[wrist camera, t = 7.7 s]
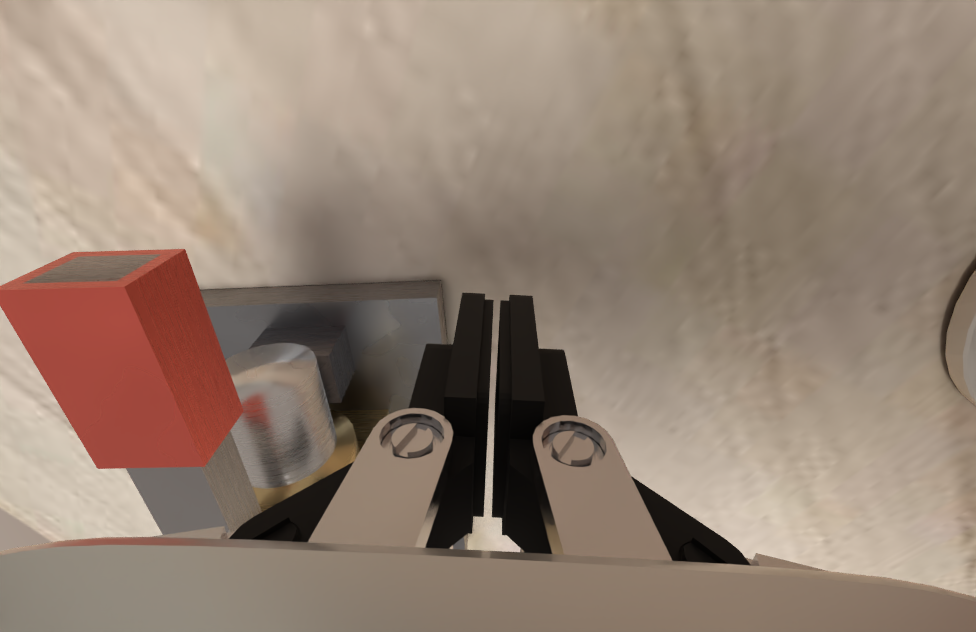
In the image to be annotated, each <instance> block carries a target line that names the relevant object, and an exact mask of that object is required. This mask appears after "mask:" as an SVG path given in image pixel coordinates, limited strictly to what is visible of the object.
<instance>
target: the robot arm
mask: <svg viewBox="0 0 976 632" xmlns="http://www.w3.org/2000/svg"><path fill="white" fill-rule="evenodd" d="M492 322H493V300H485V294H478V293H462V298H461V304H460V309H459V315H458V320H457V326H456V332H455V337H454V343H453V345H451V344H430V343H427V344H426V346H425V350H424V353H423V357H422V361H421V364H420V368H419V371H418V375H417V379H416V382H415V386H414V390H413V393H412V397H411V401H410V404H409V408H408V409H403V410H399V411H396V412H394V413H391V414H389V415H387V416H386V417H384V418H383V419H381V420H380V421H379V422H378V423H377V425H376V426H375V427H374V428H373V430H372V431H371V433H370V435H369V437H368V438H367V440H366V442H365V444H364V445H363V447H362V449H361V451H360V452H359V454H358V456H357V457H356V459H355V461H354V462H352V463H350V464H348V465H347V466H345V467H343V468H341V469H339V470H337V471H336V472H334V473H332V474H330V475H328V476H327V477H325V478H323V479H321V480H319V481H317V482H316V483H314V484H312V485H310V486H308V487H307V488H305V489H303V490H301V491H299V492H297V493H296V494H294V495H292V496H290V497H288V498H286V499H285V500H283V501H281V502H279V503H277V504H276V505H274V506H272V507H270V508H268V509H266V510H265V511H263V512H261V513H259V514H257V515H256V516H254V517H253V518H251V519H250V520H248V521H247V522H245V523H244V524H242V525H241V526H240V527H239V528H238V529H237V530H236V531H235V532H230V533H226V530H225V527H224V526H221V527H215V528H208V529H201V530H194V531H188V532H181V533H174V534H167V535H160V536H154V537H105V538H92V539H78V540H65V541H57V542H51V543H44V544H38V545H31V546H25V547H18V548H12V549H9V550H4V551H0V632H976V597H973V596H969V595H965V594H961V593H957V592H954V591H950V590H946V589H942V588H938V587H934V586H930V585H925V584H919V583H913V582H908V581H902V580H896V579H891V578H885V577H876V576H866V575H856V574H847V573H839V572H830V571H826V570H822V569H818V568H814V567H810V566H806V565H801V564H797V563H793V562H789V561H785V560H781V559H777V558H773V557H769V556H765V555H761V554H757V553H756V555H755V557H754V559H753V560H752V559H748V558H745V557H744V556H743V554H742V553H741V552H740V551H739V550H738V549H737V548H736V547H734V546H733V545H732V544H731V543H729V542H728V541H727V540H726V539H724V538H723V537H721V536H720V535H718V534H717V533H715V532H714V531H712V530H711V529H709V528H708V527H706V526H705V525H703V524H702V523H700V522H699V521H697V520H696V519H694V518H693V517H691V516H690V515H688V514H687V513H685V512H684V511H682V510H681V509H679V508H678V507H676V506H675V505H673V504H672V503H670V502H669V501H667V500H666V499H664V498H663V497H661V496H660V495H658V494H657V493H655V492H654V491H652V490H651V489H649V488H648V487H646V486H645V485H643V484H642V483H640V482H639V481H637V480H636V479H634V478H633V477H631V475H630V473H629V471H628V469H627V467H626V465H625V463H624V461H623V459H622V457H621V455H620V453H619V451H618V449H617V447H616V445H615V443H614V441H613V439H612V438H611V436H610V435H609V434H608V432H607V431H606V430H605V429H603V428H602V427H601V426H600V425H598V424H596V423H594V422H592V421H590V420H588V419H585V418H581V417H578V414H577V409H576V404H575V400H574V395H573V390H572V385H571V380H570V375H569V370H568V366H567V361H566V356H565V352H564V350H557V349H539V347H538V339H537V331H536V322H535V314H534V305H533V297H532V296H521V295H510V297H509V301H501V303H500V321H499V339H498V357H497V375H496V394H495V425H494V462H493V500H492V517H498V518H502V535H507V536H508V537H509V538H510V539H511V540H513V541H514V542H515V543H516V544H517V545H518V546H519V547H520V548H521V550H520V552H501V551H481V550H461V549H453V545H454V544H455V543H456V542H458V541H459V540H460V539H462V538H463V537H464V536H465V535H467V534H468V533H472V526H473V516H478V517H483V516H484V495H485V474H486V452H487V431H488V410H489V388H490V366H491V344H492ZM945 356H946V361H947V365H948V370H949V375H950V377H951V379H952V380H953V382H954V384H955V385H956V387H957V389H958V390H959V392H960V393H961V394H962V395H963V396H965V397H966V398H967V399H968V400H969V401H970V402H972V403H973V404H974V405H975V406H976V270H975V271H974V272H973V274H972V275H971V277H970V278H969V280H968V282H967V284H966V286H965V288H964V290H963V292H962V293H961V295H960V297H959V299H958V301H957V303H956V305H955V308H954V311H953V314H952V318H951V321H950V324H949V327H948V330H947V339H946V352H945Z"/></svg>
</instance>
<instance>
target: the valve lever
mask: <svg viewBox="0 0 976 632" xmlns="http://www.w3.org/2000/svg"><path fill="white" fill-rule="evenodd" d="M0 306H1V308H2V310H3V311H4V313H5V315H6V316H7V318H8V320H9V321H10V323H11V325H12V326H13V328H14V330H15V331H16V333H17V335H18V336H19V338H20V340H21V341H22V343H23V345H24V346H25V348H26V350H27V351H28V353H29V355H30V356H31V358H32V360H33V361H34V363H35V365H36V366H37V368H38V370H39V371H40V373H41V375H42V376H43V378H44V380H45V381H46V383H47V385H48V386H49V388H50V390H51V391H52V393H53V395H54V396H55V398H56V400H57V401H58V403H59V405H60V406H61V408H62V410H63V412H64V413H65V415H66V417H67V418H68V420H69V422H70V423H71V425H72V427H73V428H74V430H75V432H76V433H77V435H78V437H79V438H80V440H81V442H82V443H83V445H84V447H85V448H86V450H87V452H88V453H89V455H90V457H91V458H92V460H93V462H94V463H95V465H96V467H97V468H98V469H105V468H126V469H127V471H128V473H129V475H130V477H131V478H132V480H133V482H134V484H135V486H136V487H137V489H138V491H139V493H140V495H141V496H142V498H143V500H144V502H145V504H146V505H147V507H148V509H149V511H150V512H151V514H152V516H153V518H154V520H155V521H156V523H157V525H158V527H159V529H160V530H161V532H162V534H163V535H167V534H174V533H181V532H188V531H194V530H201V529H208V528H215V527H221V526H224V527H225V530H226V533H230V532H235V531H236V530H237V529H238V528H239V527H240V526H241V525H242V524H244V523H245V522H247V521H248V520H250V519H251V518H253V517H254V516H256V515H257V514H259V513H261V512H262V510H261V508H260V505H259V503H258V500H257V498H256V495H255V492H254V490H253V487H252V485H251V482H250V480H249V477H248V475H247V472H246V469H245V467H244V464H243V462H242V459H241V457H240V454H239V451H238V449H237V446H236V444H235V441H234V439H233V436H232V433H231V431H230V430H231V429H232V427H233V426H234V424H235V423H236V422H237V420H238V419H239V417H240V416H241V414H242V413H243V412H244V410H243V408H242V405H241V402H240V399H239V397H238V394H237V391H236V388H235V386H234V383H233V380H232V377H231V375H230V372H229V369H228V366H227V364H226V361H225V358H224V355H223V353H222V350H221V347H220V344H219V342H218V339H217V336H216V333H215V330H214V328H213V325H212V322H211V319H210V317H209V314H208V311H207V308H206V306H205V303H204V300H203V297H202V295H201V292H200V289H199V286H198V284H197V281H196V278H195V275H194V273H193V270H192V267H191V264H190V262H189V259H188V256H187V253H186V250H185V249H170V250H135V251H101V252H73V253H71V254H68V255H66V256H64V257H62V258H60V259H58V260H55V261H53V262H51V263H49V264H47V265H45V266H43V267H40V268H38V269H36V270H34V271H32V272H30V273H27V274H25V275H23V276H21V277H19V278H17V279H15V280H12V281H10V282H8V283H6V284H4V285H2V286H0Z"/></svg>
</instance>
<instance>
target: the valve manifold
mask: <svg viewBox="0 0 976 632" xmlns="http://www.w3.org/2000/svg"><path fill="white" fill-rule="evenodd" d="M200 292H201V295H202V297H203V300H204V303H205V306H206V308H207V311H208V314H209V317H210V319H211V322H212V325H213V328H214V330H215V333H216V336H217V339H218V342H219V344H220V347H221V350H222V353H223V355H224V358H225V361H226V364H227V366H228V369H229V372H230V375H231V377H232V380H233V383H234V386H235V388H236V391H237V394H238V397H239V399H240V402H241V405H242V408H243V410H244V412H243V413H242V414H241V416H240V417H239V419H238V420H237V422H236V423H235V424H234V426H233V427H232V429H231V430H230V431H231V433H232V436H233V439H234V441H235V444H236V446H237V449H238V451H239V454H240V457H241V459H242V462H243V464H244V467H245V469H246V472H247V475H248V477H249V480H250V482H251V485H252V487H253V490H254V492H255V495H256V498H257V500H258V503H259V505H260V508H261V510H262V512H263V511H265V510H266V509H268V508H270V507H272V506H274V505H276V504H277V503H279V502H281V501H283V500H285V499H286V498H288V497H290V496H292V495H294V494H296V493H297V492H299V491H301V490H303V489H305V488H307V487H308V486H310V485H312V484H314V483H316V482H317V481H319V480H321V479H323V478H325V477H327V476H328V475H330V474H332V473H334V472H336V471H337V470H339V469H341V468H343V467H345V466H347V465H348V464H350V463H352V462H354V461H355V459H356V457H357V456H358V454H359V452H360V451H361V449H362V447H363V445H364V444H365V442H366V440H367V438H368V437H369V435H370V433H371V431H372V430H373V428H374V427H375V426H376V425H377V423H378V422H379V421H380V420H381V419H383V418H384V417H386V416H387V415H389V414H391V413H394V412H396V411H399V410H403V409H408V408H409V404H410V401H411V397H412V393H413V390H414V386H415V382H416V379H417V375H418V371H419V368H420V364H421V361H422V357H423V353H424V350H425V346H426V344H427V343H430V344H448V342H447V333H446V324H445V314H444V305H443V295H442V286H441V280H436V281H411V282H387V283H362V284H338V285H313V286H289V287H264V288H240V289H215V290H200ZM467 543H468V534H467V535H465V536H464V537H463V538H462V539H460V540H459V541H458V542H456V543H455V544H454V545H453V549H461V550H467Z"/></svg>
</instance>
